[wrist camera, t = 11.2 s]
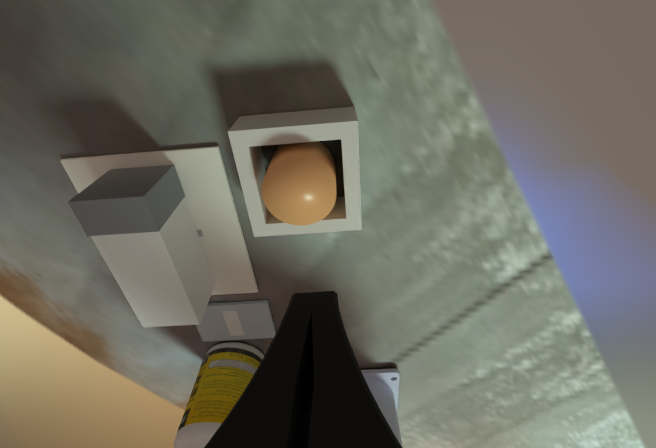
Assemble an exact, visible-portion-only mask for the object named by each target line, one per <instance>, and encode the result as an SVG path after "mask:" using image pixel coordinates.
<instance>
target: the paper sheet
mask: <svg viewBox="0 0 656 448" xmlns="http://www.w3.org/2000/svg"><path fill="white" fill-rule="evenodd" d="M60 162H61V163H62V165H63V167H64V169H65V171H66V172H67V174H68V176H69V178H70V179H71V181H72V183H73V185H74V187H75V188H76V190H77V192H78V194H79V193H80V192H81V191H83V190H84V189H85V188H87V187H88V186H89V185H90V184H92V183H93V182H94V181H96V180H97V179H98V178H100V177H101V176H102V175H104V174H105V173H106V172H107V171H109V170H110V169H122V168H135V167H149V166H162V165H174V166H175V169H176V171H177V174H178V177H179V180H180V183H181V185H182V188H183V191H184V194H185V199H186V202H187V205H188V207H189V210H190V213H191V216H192V219H193V221H194V224H195V227H196V230H197V233H198V235H199V238H200V241H201V244H202V247H203V249H204V252H205V255H206V258H207V261H208V263H209V266H210V269H211V272H212V274H213V277H214V280H215V283H216V285H215V287H214V290H213V292H212V295H225V294H241V293H258V287H257V283H256V280H255V276H254V272H253V269H252V265H251V261H250V258H249V254H248V250H247V247H246V243H245V239H244V236H243V232H242V228H241V225H240V221H239V217H238V214H237V210H236V206H235V203H234V199H233V195H232V192H231V188H230V184H229V181H228V177H227V173H226V170H225V166H224V162H223V159H222V155H221V151H220V148H219V146H213V147H200V148H188V149H176V150H163V151H151V152H139V153H126V154H114V155H101V156H89V157H77V158H64V159H61V160H60Z"/></svg>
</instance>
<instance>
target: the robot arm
mask: <svg viewBox="0 0 656 448" xmlns="http://www.w3.org/2000/svg"><path fill="white" fill-rule="evenodd" d="M399 378H400V374H399V370H398V369H395V368H392V369H371V370H361V369H360V367H359V365H358V363H357V360H356V358H355V356H354V353H353V351H352V348H351V345H350V343H349V340H348V338H347V335H346V332H345V329H344V326H343V322H342V319H341V316H340V311H339V307H338V298H337V293H335V292H334V291H326V292H311V293H295V294H294V295H293V296H292V297H291V300H290V303H289V306H288V308H287V311H286V313H285V315H284V318H283V320H282V322H281V324H280V326H279V329H278V331H277V333H276V335H275V337H274V339H273V341H272V343H271V345H270V347H269V348H268V350H267V352H266V354H265V356H264V358H263V360H262V361H261V363H260V365H259V367H258V368H257V370H256V372H255V373H254V375H253V377H252V379H251V380H250V382H249V384H248V385H247V387H246V388H245V390H244V392H243V393H242V395H241V396H240V398H239V399H238V401H237V402H236V404H235V405H234V407H233V408H232V410H231V411H230V413H229V414H228V416H227V417H226V418H225V420H224V421H223V423H222V424H221V425H220V427H219V428H218V429H217V431H216V432H215V433H214V435H213V436H212V438H211V439H210V440H209V442H208V443H207V444H206V446H205V447H204V448H403V447H402V441H401V435H400V429H399V423H398V417H397V412H398V395H399Z"/></svg>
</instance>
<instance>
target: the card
mask: <svg viewBox="0 0 656 448" xmlns="http://www.w3.org/2000/svg"><path fill="white" fill-rule="evenodd" d="M196 327H197V329H198V332H199V334H200V336H201V338H202V340H203V342H207V341H226V340H245V339H263V338H274V337H275V335H276V330H275V326H274V322H273V319H272V315H271V311H270V307H269V303H268V300H256V301H239V302H222V303H208V305H207V307H206V310H205V312H204V315H203V317H202V320H201V322H200V324H199V325H196Z"/></svg>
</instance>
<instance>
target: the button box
mask: <svg viewBox="0 0 656 448" xmlns="http://www.w3.org/2000/svg"><path fill="white" fill-rule="evenodd" d="M228 135H229V139H230V143H231V147H232V151H233V155H234V159H235V163H236V167H237V171H238V175H239V179H240V183H241V187H242V190H243V194H244V198H245V202H246V206H247V210H248V214H249V218H250V222H251V226H252V230H253V234H254V237H262V236H276V235H291V234H306V233H321V232H336V231H350V230H362V226H361V197H360V168H359V139H358V119H357V115H356V111H355V107H342V108H330V109H319V110H307V111H295V112H283V113H272V114H260V115H248V116H239V118H238V119H237V120H236V122H235V123H234V124H233V125H232V127H231V128H230V129H229V131H228ZM339 139H341V149H342V165H343V180H344V196H340V197H336V201H335V205H334V207H333V209H332V210H331V212H330V213H329V214H328V215H327V216H326V217H325V218H323V219H322V220H320V221H318V222H316V223H314V224H310V225H292V224H288V223H285V222H283V221H281V220H279V219H277V218H276V217H275V216H273V215H272V214H271V213H270V211H269V210H268V209H267V207H266V206H265V204H264V201H263V198H262V183H263V180H264V178H265V175H266V168H265V163H264V158H263V154H262V149H261V146H265V145H277V144H290V143H302V142H315V141H327V140H339Z"/></svg>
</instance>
